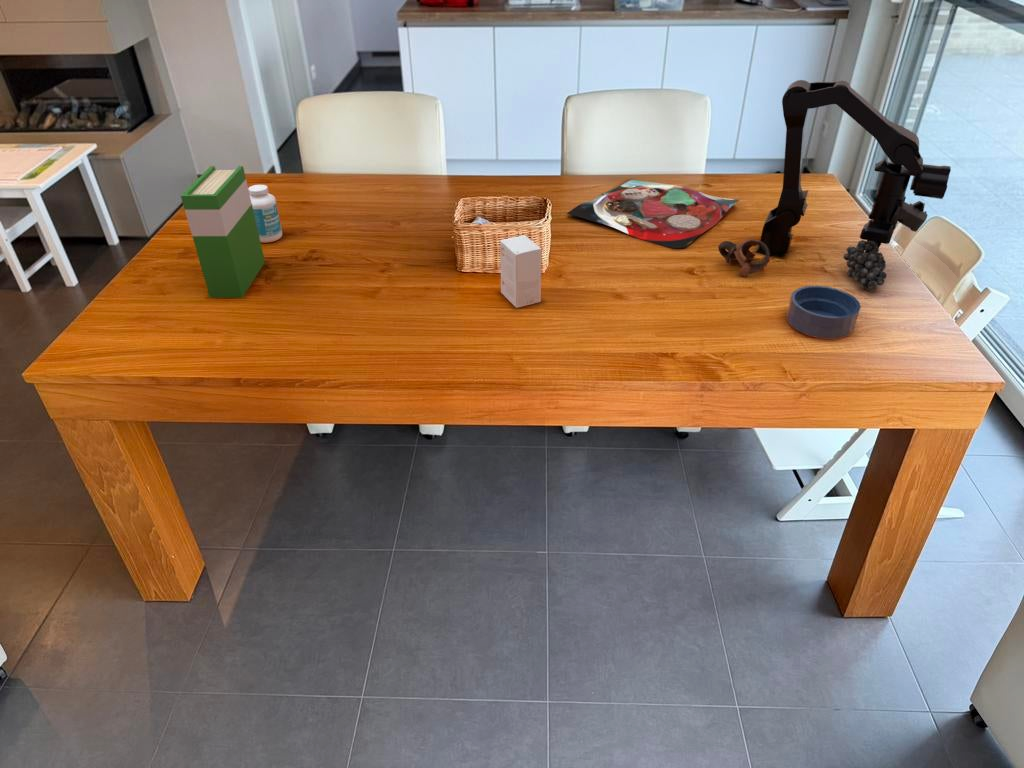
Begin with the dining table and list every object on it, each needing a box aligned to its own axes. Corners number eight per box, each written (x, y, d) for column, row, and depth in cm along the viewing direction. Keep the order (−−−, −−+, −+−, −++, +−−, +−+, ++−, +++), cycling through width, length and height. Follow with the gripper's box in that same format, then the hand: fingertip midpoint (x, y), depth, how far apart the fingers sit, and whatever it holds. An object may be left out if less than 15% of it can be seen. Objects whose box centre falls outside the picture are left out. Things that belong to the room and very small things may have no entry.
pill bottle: (272, 245, 188) (261, 194, 180) (247, 241, 190) (235, 191, 182) (288, 233, 194) (278, 184, 186) (264, 230, 196) (253, 180, 188)
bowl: (778, 330, 153) (784, 307, 150) (794, 302, 162) (800, 280, 159) (846, 347, 147) (853, 324, 144) (858, 318, 157) (866, 295, 153)
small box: (541, 302, 163) (542, 248, 156) (515, 308, 161) (515, 254, 153) (525, 286, 169) (525, 234, 161) (500, 292, 167) (499, 239, 159)
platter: (630, 179, 222) (631, 173, 221) (739, 207, 205) (740, 200, 204) (565, 216, 200) (565, 210, 199) (681, 251, 183) (682, 244, 182)
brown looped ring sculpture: (763, 261, 179) (777, 242, 172) (754, 292, 175) (767, 273, 168) (717, 244, 180) (728, 224, 173) (706, 274, 177) (718, 255, 169)
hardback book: (235, 262, 181) (210, 166, 167) (265, 262, 181) (243, 166, 166) (209, 297, 166) (180, 195, 152) (242, 297, 166) (216, 195, 152)
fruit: (892, 261, 158) (878, 230, 169) (850, 269, 160) (839, 239, 172) (894, 295, 162) (880, 263, 174) (854, 303, 165) (842, 271, 177)
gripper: (925, 213, 155) (903, 279, 164) (935, 184, 167) (914, 247, 177) (869, 203, 159) (850, 268, 169) (883, 175, 172) (865, 237, 181)
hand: (872, 255), depth 174 cm, fingers closed
